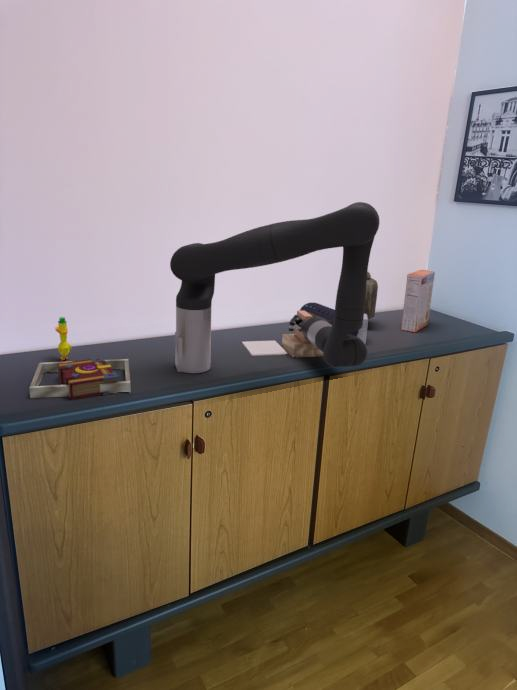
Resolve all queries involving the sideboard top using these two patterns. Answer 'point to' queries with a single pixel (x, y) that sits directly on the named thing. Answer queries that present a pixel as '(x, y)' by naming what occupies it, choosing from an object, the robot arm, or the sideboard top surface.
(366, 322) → the medicine box
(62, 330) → the toy figure
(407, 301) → the cracker box
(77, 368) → the decorative book
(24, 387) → the sideboard top surface
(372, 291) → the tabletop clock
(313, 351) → the plate holder
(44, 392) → the display tray
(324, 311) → the portable speaker
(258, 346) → the mat
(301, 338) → the cover plate
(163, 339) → the sideboard top surface
